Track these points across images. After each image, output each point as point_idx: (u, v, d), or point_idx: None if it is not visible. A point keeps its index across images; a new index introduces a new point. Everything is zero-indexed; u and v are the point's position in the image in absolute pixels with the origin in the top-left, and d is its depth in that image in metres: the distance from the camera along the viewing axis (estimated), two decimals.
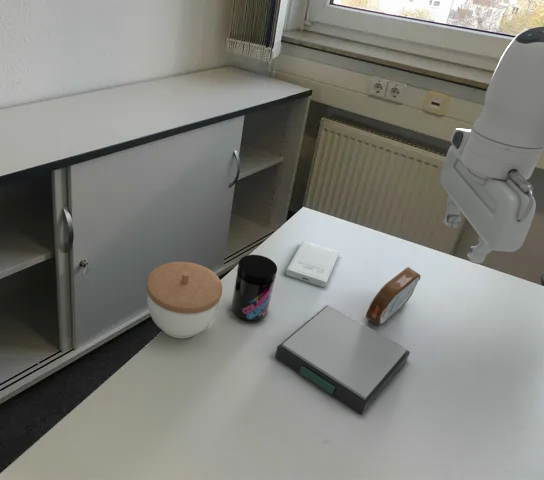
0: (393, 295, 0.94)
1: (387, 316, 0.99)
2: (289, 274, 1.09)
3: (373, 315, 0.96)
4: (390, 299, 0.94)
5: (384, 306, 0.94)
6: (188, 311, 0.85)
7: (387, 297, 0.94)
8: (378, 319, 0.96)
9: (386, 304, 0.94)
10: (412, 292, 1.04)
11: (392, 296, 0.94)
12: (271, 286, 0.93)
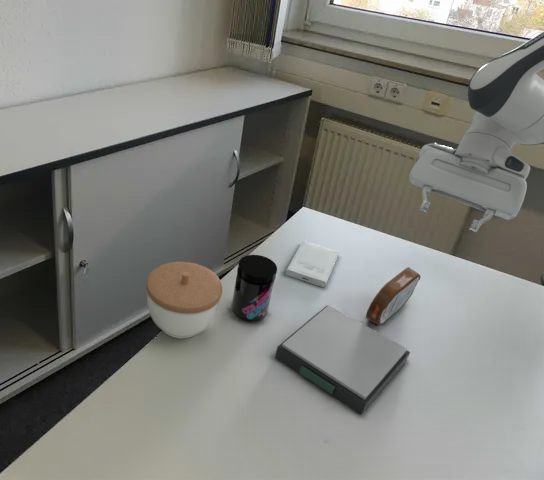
0: (393, 295, 0.94)
1: (387, 316, 0.99)
2: (289, 274, 1.09)
3: (373, 315, 0.96)
4: (390, 299, 0.94)
5: (384, 306, 0.94)
6: (188, 311, 0.85)
7: (387, 297, 0.94)
8: (378, 319, 0.96)
9: (386, 304, 0.94)
10: (412, 292, 1.04)
11: (392, 296, 0.94)
12: (271, 286, 0.93)
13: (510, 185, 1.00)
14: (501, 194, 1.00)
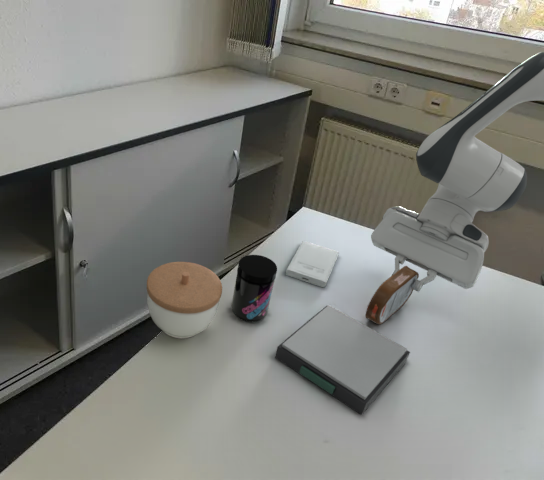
0: (391, 293, 0.94)
1: (387, 315, 0.99)
2: (289, 275, 1.09)
3: (372, 314, 0.96)
4: (388, 297, 0.94)
5: (382, 304, 0.94)
6: (188, 311, 0.85)
7: (385, 295, 0.94)
8: (377, 318, 0.96)
9: (384, 302, 0.94)
10: (411, 291, 1.04)
11: (390, 294, 0.94)
12: (271, 286, 0.93)
13: (468, 254, 0.98)
14: (458, 262, 0.98)
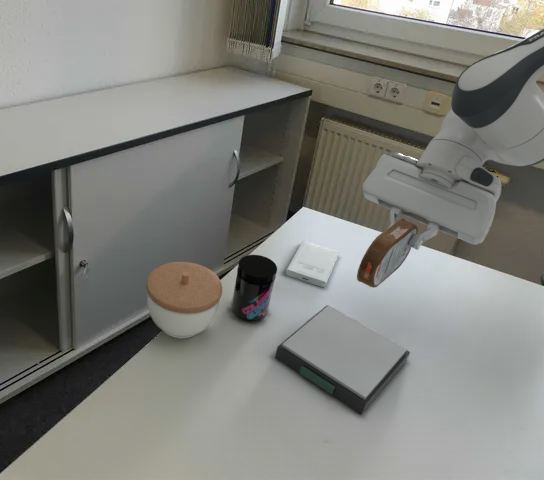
0: (387, 248, 0.78)
1: (382, 277, 0.84)
2: (289, 274, 1.09)
3: (365, 275, 0.80)
4: (384, 253, 0.78)
5: (377, 262, 0.78)
6: (188, 311, 0.85)
7: (380, 251, 0.78)
8: (371, 279, 0.80)
9: (379, 259, 0.78)
10: (409, 249, 0.89)
11: (386, 249, 0.78)
12: (271, 286, 0.93)
13: (477, 203, 0.82)
14: (464, 213, 0.82)
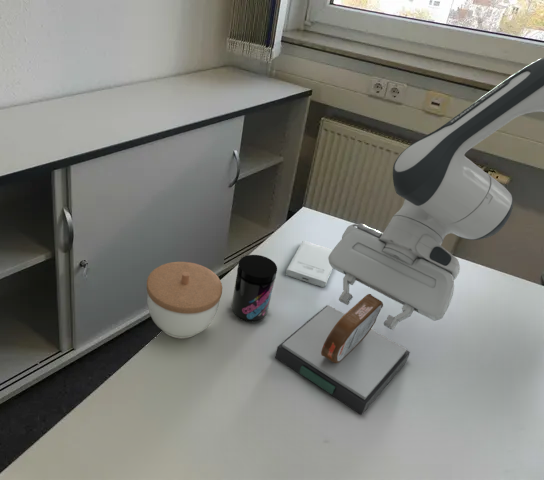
0: (351, 330, 0.81)
1: (346, 352, 0.86)
2: (289, 274, 1.09)
3: (328, 353, 0.82)
4: (347, 335, 0.81)
5: (341, 343, 0.81)
6: (188, 311, 0.85)
7: (344, 332, 0.81)
8: (334, 358, 0.82)
9: (343, 341, 0.81)
10: (374, 321, 0.91)
11: (350, 331, 0.81)
12: (271, 286, 0.93)
13: (436, 280, 0.85)
14: (424, 290, 0.85)
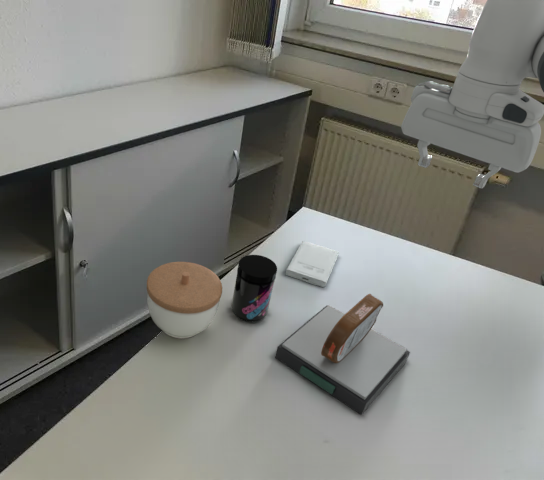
0: (351, 330, 0.81)
1: (346, 352, 0.86)
2: (289, 274, 1.09)
3: (328, 353, 0.82)
4: (347, 335, 0.81)
5: (341, 343, 0.81)
6: (188, 311, 0.85)
7: (344, 332, 0.81)
8: (334, 358, 0.82)
9: (343, 341, 0.81)
10: (374, 321, 0.91)
11: (350, 331, 0.81)
12: (271, 286, 0.93)
13: (515, 136, 0.81)
14: (503, 148, 0.83)
